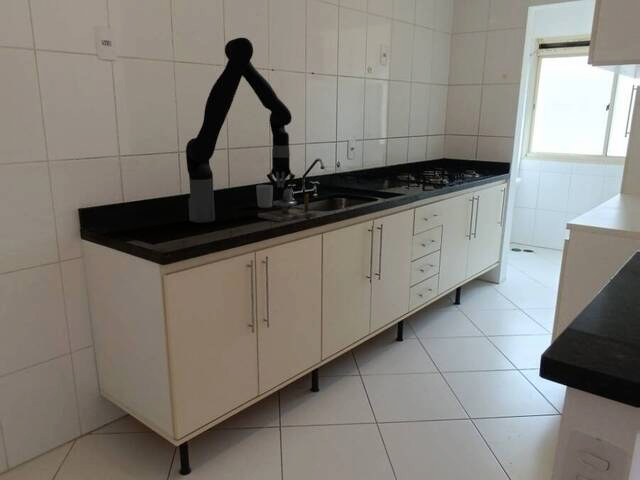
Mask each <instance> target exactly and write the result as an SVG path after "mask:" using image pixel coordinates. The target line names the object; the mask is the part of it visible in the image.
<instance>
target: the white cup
mask: <svg viewBox="0 0 640 480" xmlns="http://www.w3.org/2000/svg"><path fill="white" fill-rule="evenodd" d="M255 187H256V200H257V207H258V208H260V209H262V208H264V209H266V208H272V207H273V196H274V195H273V192H274V190H273V189H274V185H273V184H272V185H271V184H258V185H256V186H255Z"/></svg>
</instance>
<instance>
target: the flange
mask: <svg viewBox="0 0 640 480" xmlns="http://www.w3.org/2000/svg"><path fill="white" fill-rule="evenodd" d="M297 205H298V201H297V200H294V199H293V188H286V189H284V194H283V198H281V199H279V200H278V199H277V200H274V201H273V200H272V206H275V207H282V206H289V207H293V206H297Z"/></svg>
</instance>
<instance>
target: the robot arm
mask: <svg viewBox="0 0 640 480" xmlns="http://www.w3.org/2000/svg"><path fill="white" fill-rule="evenodd" d="M224 54H225V56H226V59H228V60H227V63H226V65H225V68H224V70H223V71H222V72H221V74H220V75H219V77H218V78H217V79H216V81H215V82H214V84H213V86H212V88H211V89H210V92H209V95H208V96H207V99H206V102H205V105H204V106H205V107H204V111H203V112H204V114H203V121H202V123H201V124H202V125H201V128H200V129H199V132H198V133H197V136H196V137H193V138H192V139H190V140H189V141H188V142H187V144H186V146H185V156H186V157H185V158H186V169H187V170H186V171H187V173H188V178H189V193H190V194H189V197H188V213H189V214H188V215H189V221H190V222H192V223H196V224H198V223H199V224H200V223H211V222H214V221H215V220H216V218H215V217H216V216H215V197H214V193H215V192H214V177H213V176H214V173H213V171H212V169H211V166H210V165H211V164H210V159H211V158H212V157H213V156H214V153H215V150H216V146H217V142H218V138H219V136H220V132H221V130H222V128H223V125H224V124H225V121H226V119H227V116H228V114H229V111H230V109H231V107H232V104H233V102H234V98H235V96H236V93H237V91H238V89H239V86H240V83H241V80H242V78H244V79H245V81H246V82H247V84H248V85H249V86H250V88H251V89H252V90H253V91H254V93H255V95H256V96H257V98H258V100H259V101H260V103H261V104H262V105H263V107H264V108H265V109H267V110H269V111H270V112H271V113H270V114H269V125H270V129H271V130H270V131H271V133H272V134H271V135H272V149H271V151H272V152H271V153H272V154H271V155H272V156H271V157H272V159H271V160H272V161H271V162H272V163H271V164H272V165H271V168H272V169H271V170H270V172H269V173H268V174H266V177H267V178H268V180H269V181H270V183H271V184H272V186H273V187H276V188H277V195H278V196H279V197H280V196H281V197H284V191H285V188H286V187H288V186H289V185H290V184H291V182H292V181H293V180H294V178H295V177H296V175H295V174H293V173H292V171H291V168H290V164H291V163H290V155H291V153H290V137H289V136H290V135H289V133H288V132H287V131H286V128H285V126H288V125H290V123H291V122H292V119H293V118H292V117H293V116H292V114H291V113H292V112H291V111H290V109H289V108H288V107H287V106H286V105H285V103H284V102H283V101H282V100H281V99H280V98H279V97H278V96H277V95H278V94H277V93H276V92H275V90H274V89H273V87H272V85H270V83H269V82H268V80H267V79H266V78H264V76H263V75H262V74H261V73H259V71H258V70H257V69H256V68H255V67H254V65H253V64H252V62H251V60H252V58H253V55H254V47H253V44H252V42H251V40H250V39H248V38H247V37H237V38H235V39H231V40H229V41H228V42H227V43H226V44H225V46H224ZM273 177H274V178H275V179H274V178H273ZM287 178H288V180H287V181H286V179H287Z"/></svg>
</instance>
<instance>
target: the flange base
mask: <svg viewBox="0 0 640 480" xmlns="http://www.w3.org/2000/svg"><path fill="white" fill-rule="evenodd" d="M289 207H290V206H281V210H273V211H266V212H258V213H257V218H260V219H265V220H269V221H273V220H276V221H275V222H278V221H283V222H287V220H289V221H293V220H292V219H295V220H299V219H298V218H301V219H305V218H304V217H307V218H313V217H317V212H315V211H311V210H309V194H308V193H305V194H304V209H299V208H295V207H292V208H289Z"/></svg>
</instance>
